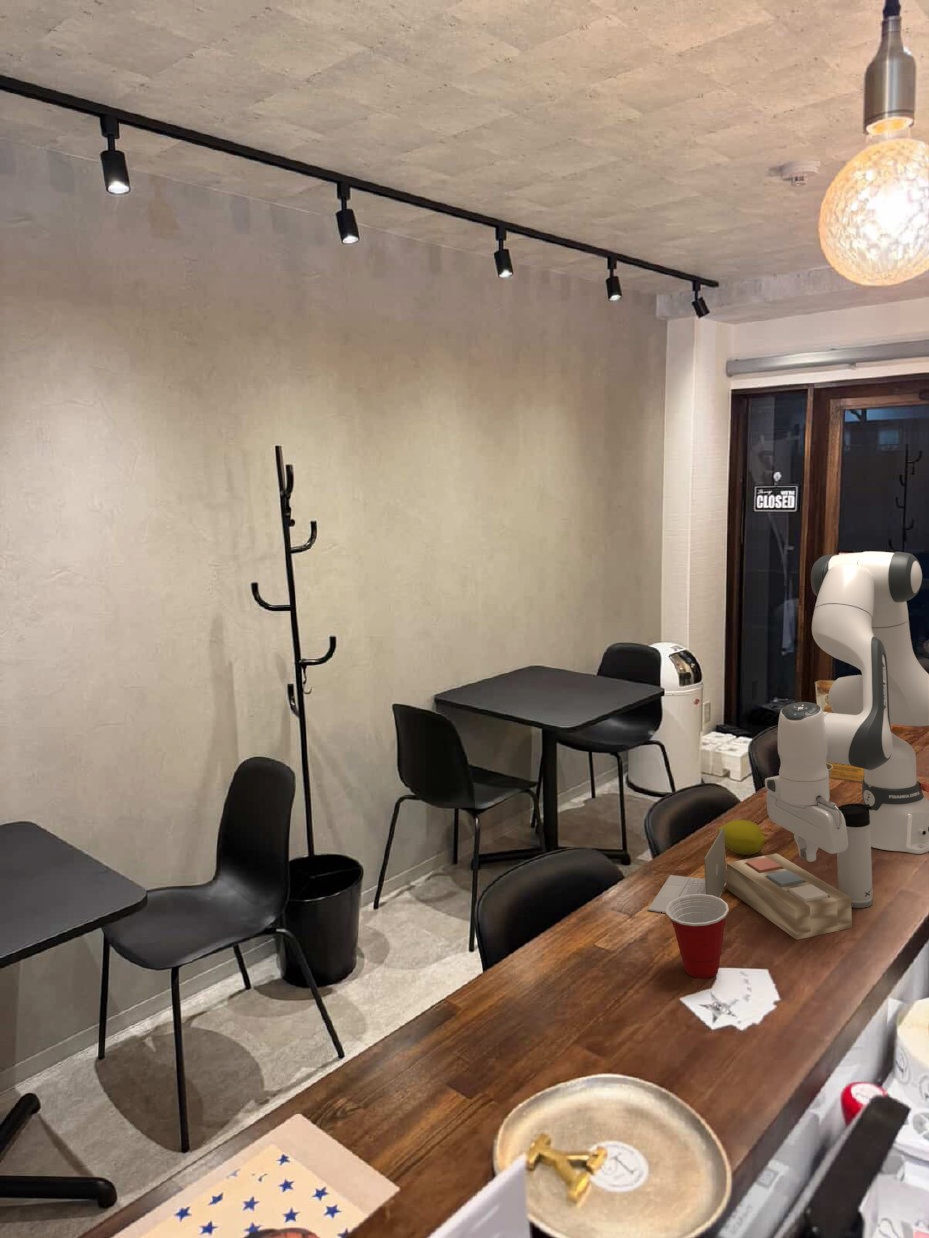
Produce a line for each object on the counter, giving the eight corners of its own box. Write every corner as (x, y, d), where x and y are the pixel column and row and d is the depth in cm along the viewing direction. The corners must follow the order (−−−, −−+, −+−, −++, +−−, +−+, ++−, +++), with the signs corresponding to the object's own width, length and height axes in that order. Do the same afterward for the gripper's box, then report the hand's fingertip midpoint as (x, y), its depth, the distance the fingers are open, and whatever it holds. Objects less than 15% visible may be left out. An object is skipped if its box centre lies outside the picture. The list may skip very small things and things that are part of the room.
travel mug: (878, 908, 174) (875, 810, 171) (842, 908, 175) (839, 811, 173) (870, 895, 180) (867, 800, 177) (835, 894, 181) (832, 800, 179)
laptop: (670, 877, 197) (666, 821, 195) (727, 884, 191) (724, 826, 189) (647, 912, 181) (643, 851, 179) (709, 921, 175) (706, 858, 173)
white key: (812, 898, 173) (811, 884, 172) (828, 909, 168) (828, 894, 167) (789, 903, 171) (789, 888, 171) (805, 913, 167) (804, 898, 166)
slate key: (789, 884, 180) (788, 870, 180) (804, 893, 175) (803, 879, 175) (767, 888, 179) (766, 874, 178) (782, 898, 174) (781, 883, 174)
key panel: (777, 879, 190) (776, 853, 190) (852, 927, 167) (851, 897, 166) (727, 889, 187) (726, 862, 187) (796, 939, 164) (795, 909, 164)
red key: (768, 871, 187) (767, 857, 187) (781, 879, 182) (781, 865, 182) (747, 875, 186) (746, 861, 186) (760, 884, 181) (759, 870, 181)
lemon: (773, 852, 205) (771, 819, 204) (757, 863, 200) (755, 829, 199) (730, 843, 213) (728, 811, 212) (713, 853, 207) (712, 821, 206)
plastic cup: (656, 965, 159) (652, 902, 158) (705, 949, 163) (701, 887, 162) (694, 993, 149) (691, 926, 148) (745, 975, 153) (742, 910, 152)
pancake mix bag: (822, 770, 262) (819, 677, 259) (889, 780, 248) (886, 682, 245) (812, 775, 257) (809, 681, 254) (880, 786, 244) (877, 687, 241)
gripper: (855, 802, 158) (858, 876, 160) (787, 772, 178) (790, 837, 179) (824, 808, 156) (828, 882, 158) (759, 777, 176) (763, 843, 178)
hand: (807, 858), depth 169 cm, fingers closed
